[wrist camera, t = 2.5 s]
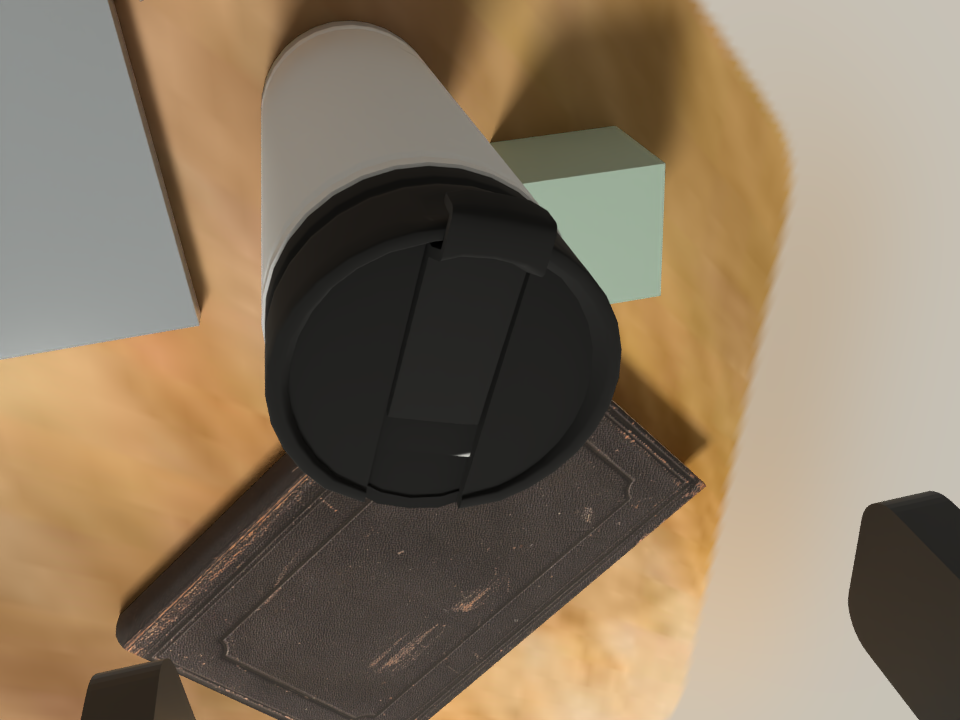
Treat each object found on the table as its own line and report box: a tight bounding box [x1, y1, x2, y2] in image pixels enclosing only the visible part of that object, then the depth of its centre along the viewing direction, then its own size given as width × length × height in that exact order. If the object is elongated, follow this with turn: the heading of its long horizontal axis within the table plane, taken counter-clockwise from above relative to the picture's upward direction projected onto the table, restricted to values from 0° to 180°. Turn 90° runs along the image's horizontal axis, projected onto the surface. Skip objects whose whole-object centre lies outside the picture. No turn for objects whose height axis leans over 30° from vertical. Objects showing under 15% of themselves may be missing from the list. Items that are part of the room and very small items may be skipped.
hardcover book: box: [116, 400, 706, 720], centre depth 41 cm, size 16×23×2 cm
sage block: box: [490, 126, 665, 304], centre depth 33 cm, size 5×5×5 cm
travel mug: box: [261, 20, 622, 509], centre depth 23 cm, size 6×7×20 cm
